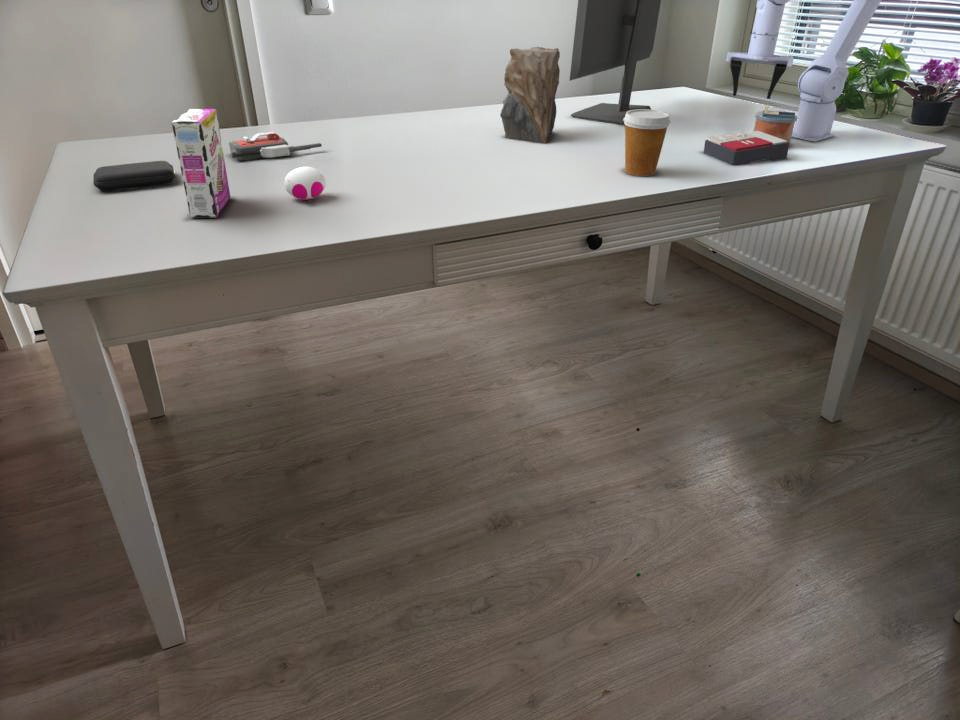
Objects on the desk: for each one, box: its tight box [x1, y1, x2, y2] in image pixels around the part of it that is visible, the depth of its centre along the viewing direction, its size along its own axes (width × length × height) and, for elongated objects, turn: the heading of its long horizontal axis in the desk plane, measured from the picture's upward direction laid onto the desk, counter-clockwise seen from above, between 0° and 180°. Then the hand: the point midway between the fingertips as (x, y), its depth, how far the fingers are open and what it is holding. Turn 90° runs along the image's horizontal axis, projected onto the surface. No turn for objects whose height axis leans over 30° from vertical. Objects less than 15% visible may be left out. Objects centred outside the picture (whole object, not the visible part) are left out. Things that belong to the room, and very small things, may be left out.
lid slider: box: [764, 104, 779, 114], centre depth 167 cm, size 3×3×2 cm
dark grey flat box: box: [703, 130, 791, 166], centre depth 160 cm, size 11×4×15 cm
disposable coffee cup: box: [623, 109, 671, 177], centre depth 146 cm, size 10×10×12 cm
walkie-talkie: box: [228, 131, 322, 162], centre depth 157 cm, size 9×4×20 cm
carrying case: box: [93, 160, 177, 192], centre depth 139 cm, size 11×3×15 cm
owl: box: [499, 46, 561, 144], centre depth 170 cm, size 13×13×20 cm
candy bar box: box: [171, 108, 231, 219], centre depth 123 cm, size 11×5×16 cm, turn 5°
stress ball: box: [283, 166, 327, 203], centre depth 131 cm, size 8×8×7 cm
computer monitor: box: [569, 0, 662, 126], centre depth 185 cm, size 44×16×40 cm, turn 144°
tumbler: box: [753, 109, 797, 146], centre depth 169 cm, size 9×9×7 cm
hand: (751, 96), depth 167 cm, fingers open, 7 cm apart
